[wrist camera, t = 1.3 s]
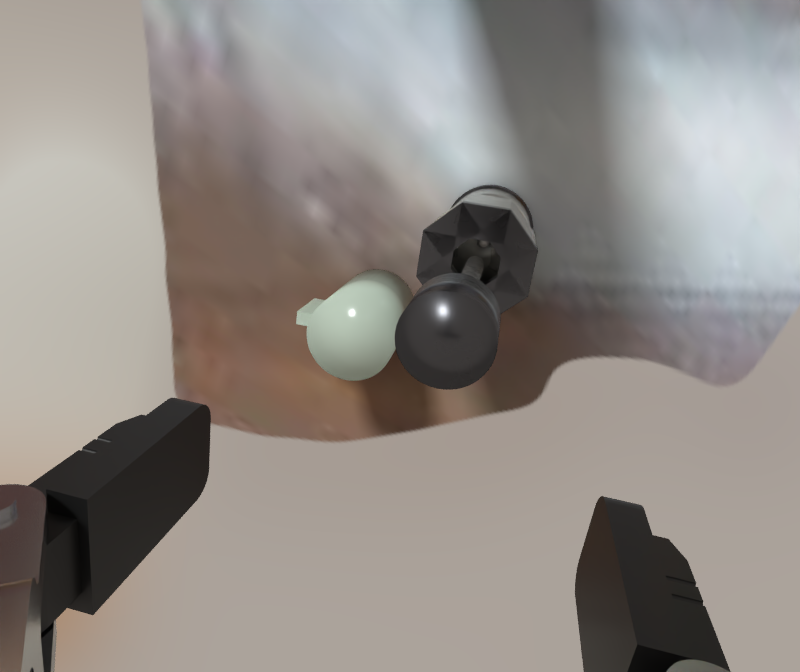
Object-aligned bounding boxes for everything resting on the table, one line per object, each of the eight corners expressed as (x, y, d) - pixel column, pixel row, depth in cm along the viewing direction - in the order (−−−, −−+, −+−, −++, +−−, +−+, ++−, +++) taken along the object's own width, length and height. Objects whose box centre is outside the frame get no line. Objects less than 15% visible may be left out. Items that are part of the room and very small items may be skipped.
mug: (328, 259, 50) (289, 283, 42) (420, 276, 49) (399, 305, 41) (321, 330, 52) (282, 366, 44) (409, 348, 51) (387, 388, 43)
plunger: (449, 227, 33) (402, 282, 20) (513, 238, 32) (506, 302, 20) (438, 289, 34) (388, 377, 21) (500, 300, 34) (486, 398, 21)
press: (453, 178, 46) (426, 193, 33) (541, 192, 45) (548, 213, 32) (435, 285, 49) (404, 338, 36) (518, 301, 48) (515, 361, 35)
